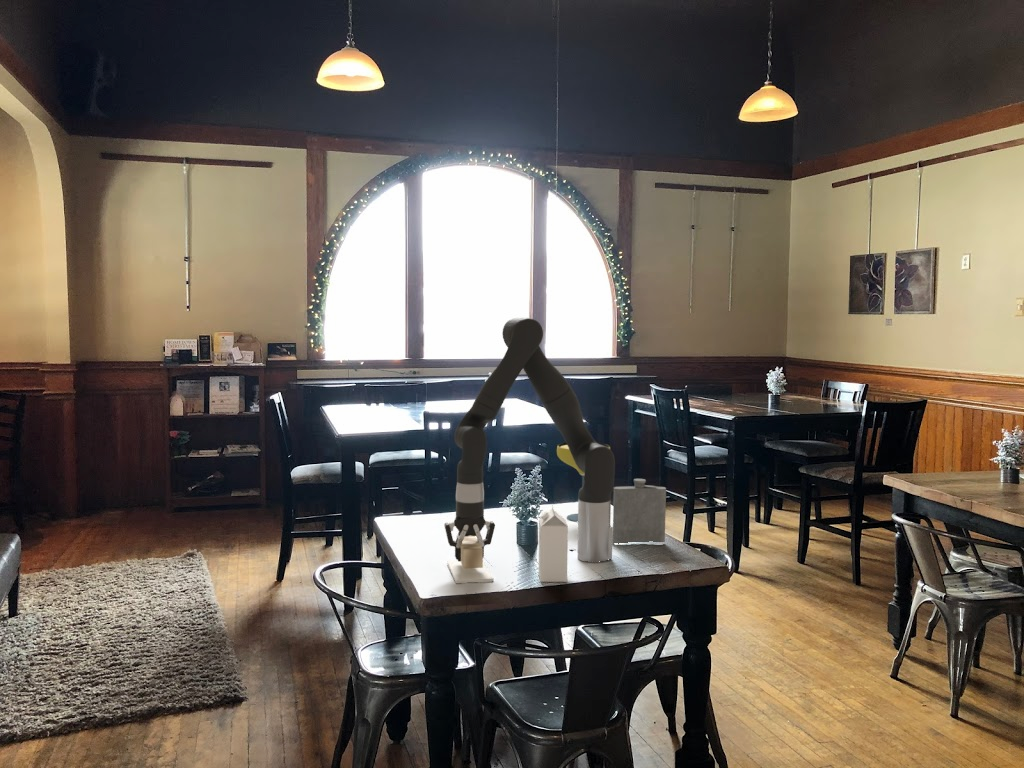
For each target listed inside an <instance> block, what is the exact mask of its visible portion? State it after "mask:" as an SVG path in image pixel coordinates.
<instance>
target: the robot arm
mask: <svg viewBox="0 0 1024 768" xmlns="http://www.w3.org/2000/svg"><path fill="white" fill-rule="evenodd" d="M543 338H544V330H543V326H542V325H541V323H539V321H538V320H536V319H534V318H531V317H513V318H511V319H509V320H507V321H506V322H505V324H504V326H503V328H502V339H503V342H504V343H505V346H506V347H507V350H506V352H505V353H504V356H503V358H502V359H501V361H500V362H499V363H498V364H497V366H496V368H495V369H494V370H493V371H492V373H490V375H489V377H488V378H487V379H486V380H485V382H484V383H483V385H482V387H481V388H480V389H479V392H478V393H477V396H476V398H475V399H474V401H473V403H472V406H471V407H470V409H468V411H467V412H466V413H465V415H464V416H463V417H462V419H461V420H460V421H459V423H458V424H457V426H456V429H455V431H454V436H453V437H454V439H453V440H454V442H455V445H456V446H457V447H459V448H460V449H461V450H462V452H461V460H459V462H458V463H457V465H456V467H457V468H456V487H455V489H456V490H455V518H454V521H452V522H449V523H448V522H445V523H444V530H445V533H446V538H447V541H448V544H449V546H450V547H454V557H455V559H456V561H461V548H460V546H461V544H462V541H463V540H464V537H465V536H475V537H476V538H477V540H478V542H479V544H480V545H481V547H482V549H483V558H484V556H485V555H484V554H485V546H487V545H491V543H492V538H493V535H494V531H495V529H496V524H495V522H493V520H490V521H487V520H486V519H485V515H484V514H485V513H484V511H485V509H484V508H485V489H484V488H485V487H484V463H485V460H486V454H487V450H488V440H487V439H488V438H487V434H486V432H485V431H484V429H485V428H486V426H487V425H488V423H491V422H493V421H494V420H495V419H496V417H497V415H498V413H499V412H500V410H501V408H502V406H503V403H504V402H505V400H506V397H507V396H508V395H509V392H510V390H511V388H512V386H513V384H514V383H515V382H516V380H517V379H518V377H519V375H520V373H521V372H522V371H524V372H525V374H526V376H527V378H528V380H529V382H530V384H531V386H532V388H533V389H534V391H535V393H536V394H537V396H538V398H539V400H540V402H541V404H542V406H543V408H544V409H545V411H546V412H547V414H548V416H549V417H550V418H551V421H552V422H553V423H554V426H556V428H557V430H558V431H559V433H560V434H561V436H562V437H563V440H564V441H565V443H567V445H568V447H569V450H570V452H571V454H572V457H573V459H574V461H575V463H576V465H577V467H578V468H579V469H580V470H581V471H582V472H584V473H585V475H584V486H583V487H582V486H581V488H579V490H578V497H577V498H578V502H577V503H578V505H577V507H578V508H577V509H578V510H577V514H578V522H577V550H576V551H577V559H578V560H580V561H581V562H585V561H588V562H587V563H593V562H598V563H600V562H599V561H605V560H608V559H612V560H613V526H611V513H612V512H611V511H612V510H611V509H612V508H611V507H612V505H611V504H612V502H611V501H612V495H613V494H612V493H613V492H614V487H615V486H614V485H615V474H616V473H615V471H616V461H615V455H614V453H613V451H612V450H611V448H610V449H609V448H607V447H605V446H603V445H600V444H598V443H599V442H597V441H596V440H595V439H594V437H593V436H592V434H591V433H590V431H589V430H588V428H587V426H586V424H585V422H584V419H583V415H582V408H581V405H580V402H579V400H578V397H577V394H576V393H575V392H574V390H573V388H572V386H571V385H570V383H569V382H568V380H567V379H566V377H565V376H564V375H563V374H562V373H561V372H560V371H559V370H558V369H557V368H556V367H555V366H554V365H553V363H551V362H550V360H549V359H548V358H547V356H546V355H545V354H544V352H543V350H542V348H541V347H540V345H541V343H542V342H543V341H542V340H543ZM484 527H485V529H486V535H485V539H483V536H482V534H481V531H482V530H483V528H484ZM454 528H456V529H457V531H458V533H457V535H456V538H455V540H454V539H453V534H452V532H453V531H454ZM608 561H609V560H608ZM605 562H606V561H605Z"/></svg>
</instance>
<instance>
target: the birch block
mask: <svg viewBox="0 0 1024 768" xmlns="http://www.w3.org/2000/svg"><path fill="white" fill-rule="evenodd" d="M460 548H461V564H462V566H463V568H464V569H467V568H483V561H484V557H483V549H482V547H481V545H480V544H479V542H478V540H477V538H476V536H465V537H464V540H463V541H462V544H461V546H460Z"/></svg>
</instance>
